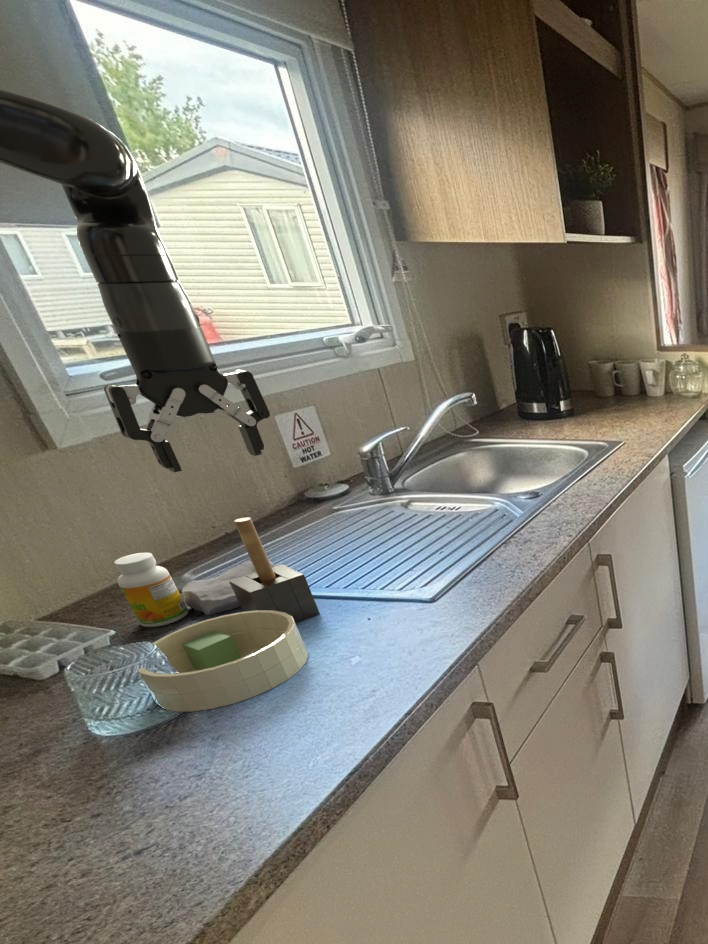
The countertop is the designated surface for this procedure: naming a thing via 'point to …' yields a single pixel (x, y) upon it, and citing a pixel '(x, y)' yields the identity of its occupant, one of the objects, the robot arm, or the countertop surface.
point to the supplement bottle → (149, 590)
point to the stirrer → (255, 549)
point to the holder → (277, 593)
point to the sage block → (211, 650)
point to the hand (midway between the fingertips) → (217, 462)
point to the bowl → (258, 670)
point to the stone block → (216, 590)
